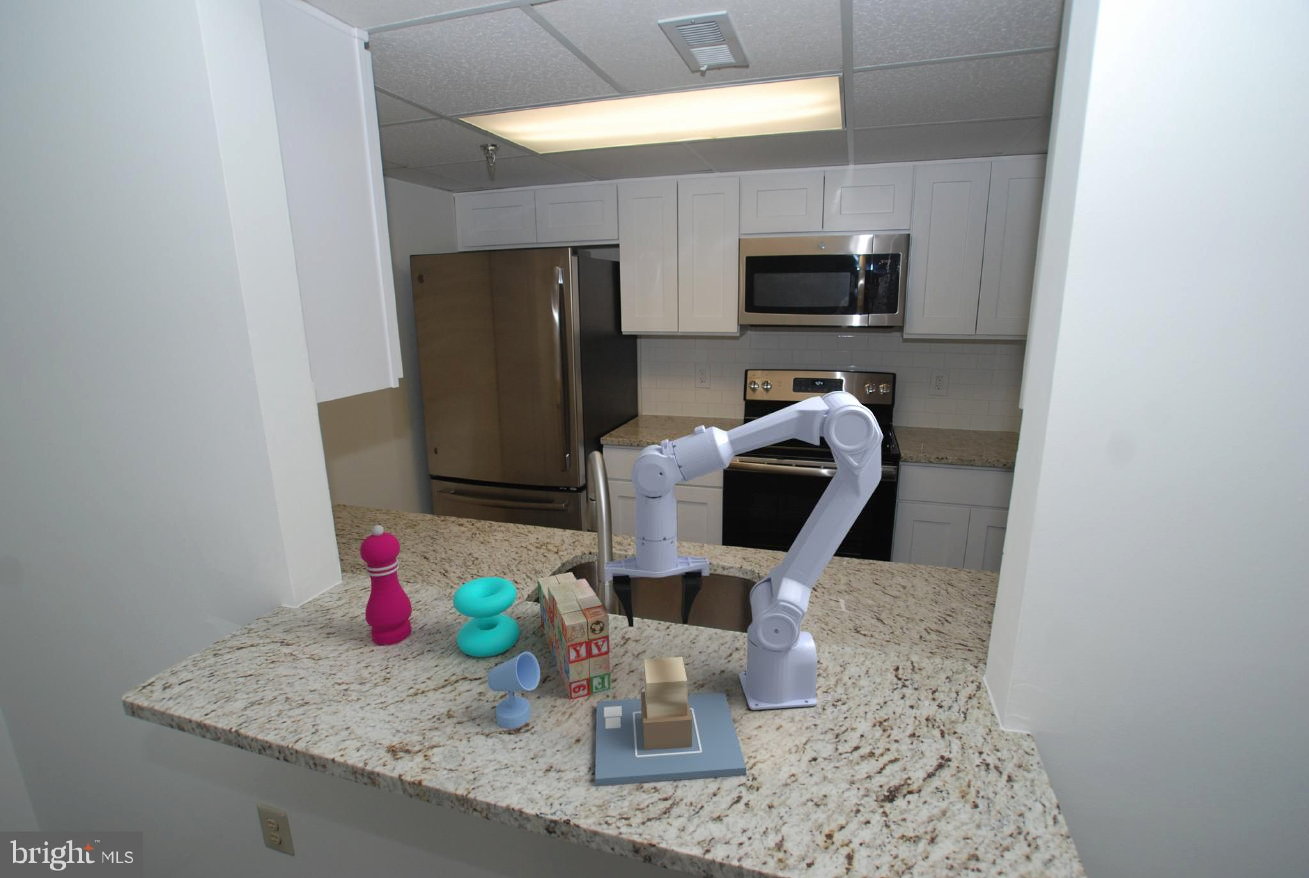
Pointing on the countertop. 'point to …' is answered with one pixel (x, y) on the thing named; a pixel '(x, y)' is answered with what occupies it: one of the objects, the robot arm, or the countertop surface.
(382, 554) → the pepper mill
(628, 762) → the blueprint board
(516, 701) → the spotlight
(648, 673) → the maple block
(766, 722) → the countertop surface
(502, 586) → the donuts
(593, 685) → the stack of blocks
